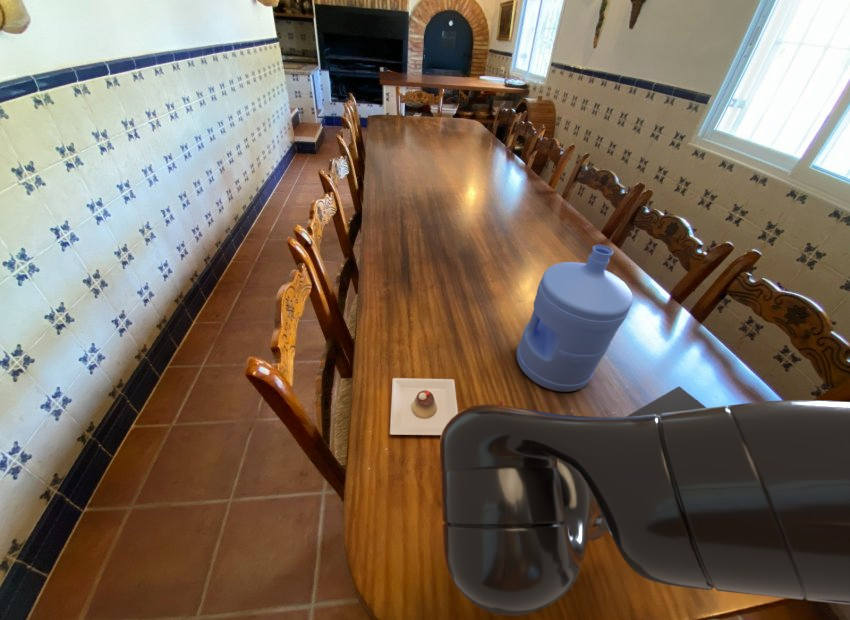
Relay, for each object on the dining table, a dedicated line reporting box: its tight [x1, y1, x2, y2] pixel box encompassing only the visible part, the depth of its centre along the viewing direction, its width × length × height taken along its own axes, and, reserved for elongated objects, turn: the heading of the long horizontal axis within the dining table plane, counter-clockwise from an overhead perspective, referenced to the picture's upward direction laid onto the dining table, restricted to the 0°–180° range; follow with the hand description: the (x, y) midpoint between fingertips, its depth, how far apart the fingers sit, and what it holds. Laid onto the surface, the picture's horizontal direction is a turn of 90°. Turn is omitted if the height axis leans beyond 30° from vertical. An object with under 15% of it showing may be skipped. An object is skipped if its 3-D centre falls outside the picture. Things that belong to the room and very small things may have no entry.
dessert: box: [389, 377, 459, 436], centre depth 64 cm, size 12×12×5 cm
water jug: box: [516, 244, 634, 393], centre depth 67 cm, size 16×16×28 cm
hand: (608, 489), depth 45 cm, fingers open, 8 cm apart
